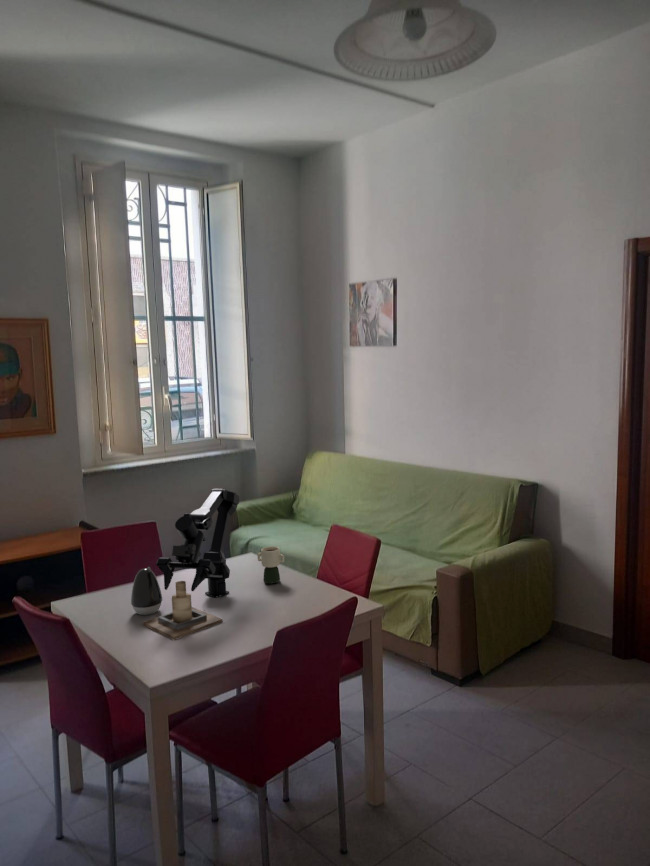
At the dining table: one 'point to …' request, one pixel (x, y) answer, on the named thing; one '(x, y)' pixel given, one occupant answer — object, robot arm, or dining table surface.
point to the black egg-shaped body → (146, 593)
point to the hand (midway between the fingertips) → (178, 590)
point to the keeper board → (182, 624)
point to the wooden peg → (181, 603)
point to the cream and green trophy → (271, 563)
